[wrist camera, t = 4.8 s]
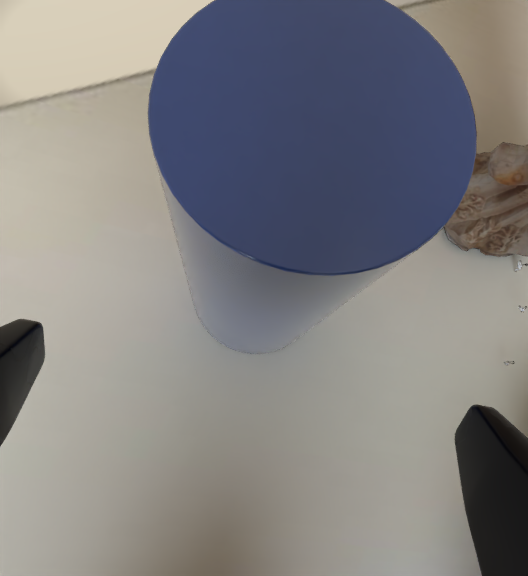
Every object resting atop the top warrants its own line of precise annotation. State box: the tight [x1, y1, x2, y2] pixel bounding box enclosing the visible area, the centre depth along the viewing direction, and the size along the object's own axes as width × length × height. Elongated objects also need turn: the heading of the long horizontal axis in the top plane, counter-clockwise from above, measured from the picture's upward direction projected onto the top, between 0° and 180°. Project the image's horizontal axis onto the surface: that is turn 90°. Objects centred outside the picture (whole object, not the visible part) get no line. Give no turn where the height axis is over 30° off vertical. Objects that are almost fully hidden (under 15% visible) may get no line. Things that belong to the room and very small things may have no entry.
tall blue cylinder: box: [148, 0, 477, 354], centre depth 15 cm, size 6×6×14 cm
